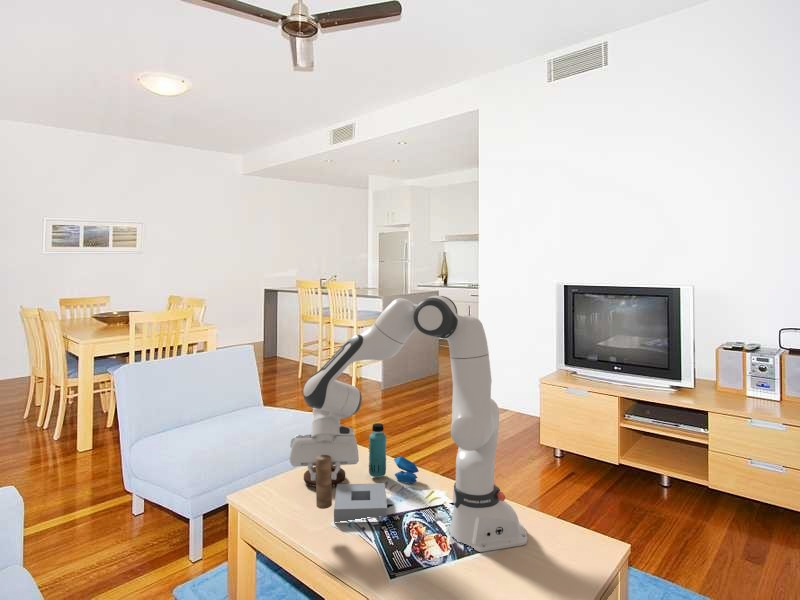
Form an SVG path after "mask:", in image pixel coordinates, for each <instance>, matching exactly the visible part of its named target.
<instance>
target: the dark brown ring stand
mask: <svg viewBox="0 0 800 600" xmlns="http://www.w3.org/2000/svg"><path fill="white" fill-rule="evenodd" d="M335 469H336V466H335V465H331V472H334V471H335ZM312 471H313V473H316V466H313V469H312ZM345 479H346V471H345V470H344V469H343V468H341V467H340V470H339V471H338V473H337V476H336V480H331V482H332V486H334V488H335V489H336V488H337V484H341V483H342V482H343V481H344V480H345ZM303 480H304V482H305V484H307V487H308V488H309V487H311V486H312V487H316V480H314V481H311V474H310V472H309V470H306V471H305V472H304V474H303Z"/></svg>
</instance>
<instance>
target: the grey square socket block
mask: <svg viewBox="0 0 800 600" xmlns="http://www.w3.org/2000/svg"><path fill="white" fill-rule="evenodd" d="M333 505H334V506H333V524H334V523H335V522H340V521H348V520H355V519H361V518H367V517H379V516H387V517H388V503H387V494H386V483H384V482H382V483H376V482H375V483H374V482H373V483H342V484H341V483H339V484H337V487H336V488H335V498H334V504H333Z"/></svg>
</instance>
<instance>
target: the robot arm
mask: <svg viewBox="0 0 800 600" xmlns="http://www.w3.org/2000/svg"><path fill="white" fill-rule="evenodd" d="M417 330H418V331H420V332H421V334H424V335H426V336H430V337H433V338H434V337H435V338H439V339H443V340H446V341H447V343H448V348H449V349H448V350H449V358H450V359H449V360H450V368H451V376H452V380H451V381H452V397H451V398H452V399H451V400H452V401H451V426H450V436H451V439H452V441H453V443H454V444H455V445H456V446H457V447H458V449H457V453H456V458H455V481H454V484H453V491H452V492H453V496H452V498H453V499H452V500H453V501H452V502H453V511H452V516H451V522H450V524H449V527H450V532H451V534H452V535H453V536H454V538H456V539H457V540H458V541H460V542H462V543H464V544H467V545H469V546H468V547H470V546H471V547H470V548H471V549H473V548H474V549H473V550H475V551H477V552H480V553H484V552H489V551H495V550H502V549H507V548H513V547H514V548H515V547H520V546H525V545H527V543H528V541H529V540H528V534H527V531H526V529H525V527H524V525H523V524H522V523H521V522H520V521H519V517H518V515H517V513H516V510H515V509H514V508H513V507H512V506H511V505H510V504H509V503H508V502H506V501H505V500H506V499H507V498H506V495H505V493H504V492H503V491H501V489H500V487H498V486H497V485H496V484H495V466H496V465H495V461H496V454H497V448H498V438H499V437H498V436H499V427H500V426H499V425H500V409H499V407H498V404H497V402H496V401H495V400H494V399H493V398H491V397H492V396H491V395H492V394H491V391H492V382H493V381H492V373H491V363H490V354H489V353H490V352H489V346H488V340H487V336H486V333H485V332H486V331H485V328H484V326H483V323H482V321H481V320H480V319H479V318H477V317H474V316H469V315H465V316H463V315H459V314H458V308H457V306H456V304H455V302H454V301H453V300H452V299H451V298H449V297H447V296H444V295H431V296H428V297H426V298H425V299H423V300H420V301H419V302H418V304H417V303H414V302H413V301H411V300H410V299H407V298H403V297H398V298H395V299H394V300H392V301H391V303H389V304H388V305H387V306H386V307H385V309H383V310H382V312H381V313H380V315H378V317H377V318H376V320H375V321H374V323H373V324H372V325H371V326H369V328H367V329H366V330H365V331H363V332H361V333H360V334H356V335H352V336H351V337H350V338H349V339H348V340H346V341H345V343H344V344H343V345H342V346H340V348H339V349H338V350H337V351H336V352H335V353H334V354H333V355H332V357H330V358H329V359H328V360H327V362H326V363H324V365H322V367H321V368H320V369H319V370H317V372H315V373H314V374H313V375H311V376H310V377H309V378H308V379H307V380H306V382H305V384H304V385H303V388H302V396H303V398H304V401H305V403H306V405H307V406H308V407H309V408H312V416H313V420H312V421H311V430H310V431H311V433H310V434H302V435H301V434H296V435H295V436H293V437H292V438H291V440H290V449H291V450H290V454H289V455H290V456H289V463H290V465H291V466H292V467H294V468H296V467H307V469H308V470H309V472H310V474H311V481H314V480H316V473H313V471H312V469H313V467H315V466H316V457H318V456H321V455H328V456H331V465H334V466H336V469H335V471H334V472H331V480H336V476H337V473H338V471H339V470H340V468H341V466H345V465H349V466H350V465H357V464H358V462H359V458H360V457H359V447H358V442H357V439H356V438H355V430H354V428H352V427H350V426H345V425H342V424H341V420H345V419H348V418H350V417H351V416H352V417H353V416H354V415H356V414H357V413H358V412H359V411H360V409H361V407H362V393H361V391H360V389H359V388H358V387H356V386H354V385H351V384H349V383H346V382H343V381H340V380H338V378H339V377H340V375H341V374H343V372H344V371H345V370H346V369H347V368H348V367H349V366H350V365H352V364H353V363H355V362H358V361H369V360H370V361H371V360H372V361H386V360H389V359H391V358H393V357H395V356H396V355H397V354H398V353H399V352H400V351H401V350H402V348H403V347H404V345H405V344H406V343H407V341H408V340H409V338H410V337H411V336H412V334H413V333H414V332H416V331H417ZM458 541H457V542H458ZM462 543H461V544H462ZM464 544H463V545H464ZM467 545H466V546H467Z"/></svg>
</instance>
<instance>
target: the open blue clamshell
mask: <svg viewBox="0 0 800 600" xmlns="http://www.w3.org/2000/svg"><path fill="white" fill-rule="evenodd" d="M393 460H394V462H395V464H396V466H397V467H398V468H399V470H401V471H399V472H396V473H394V477H395V478H396V479H397V481H398V482H400V483H401V482H402V483H406V484H413V483H416V482H417V479H418V477H417V475H416V473H419V472H420V471H419V469H418V467H417V465H416V464H415V463H414V462H412V461H410V460H409V459H407V458H405V457H403V456H399V457H396V458H393Z"/></svg>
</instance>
